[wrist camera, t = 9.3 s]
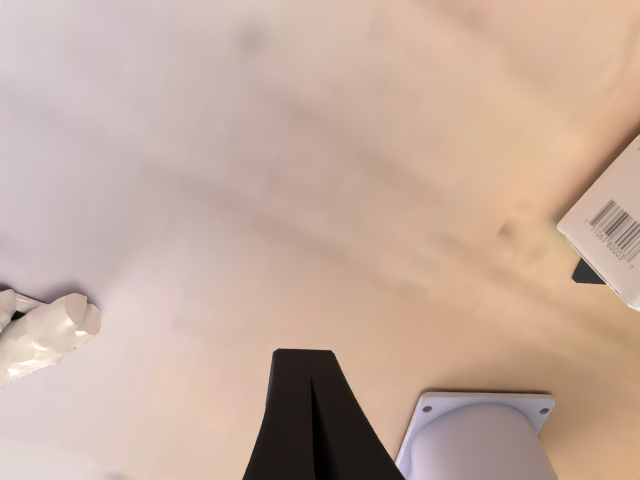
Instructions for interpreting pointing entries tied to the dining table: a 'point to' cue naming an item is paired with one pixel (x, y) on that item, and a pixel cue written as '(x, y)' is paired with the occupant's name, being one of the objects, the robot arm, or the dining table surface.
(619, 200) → the syrup box
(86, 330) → the white creature statuette
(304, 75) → the dining table surface
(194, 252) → the dining table surface
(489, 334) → the dining table surface
